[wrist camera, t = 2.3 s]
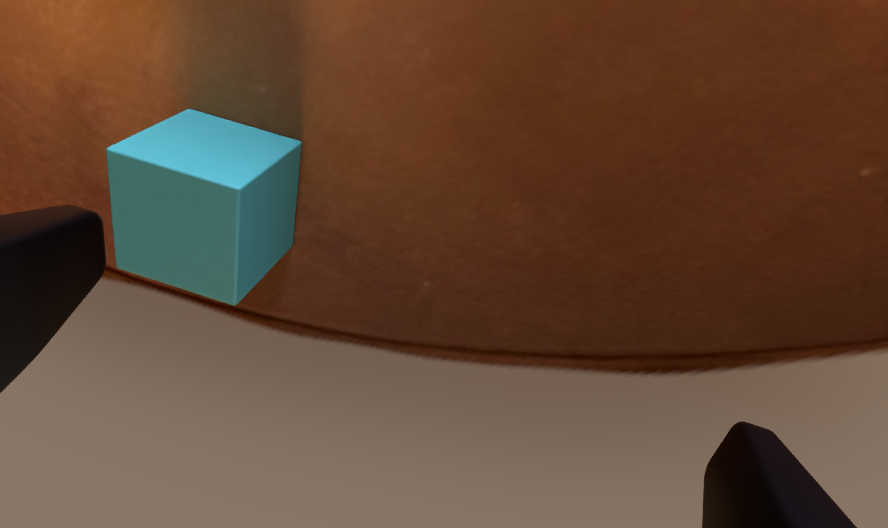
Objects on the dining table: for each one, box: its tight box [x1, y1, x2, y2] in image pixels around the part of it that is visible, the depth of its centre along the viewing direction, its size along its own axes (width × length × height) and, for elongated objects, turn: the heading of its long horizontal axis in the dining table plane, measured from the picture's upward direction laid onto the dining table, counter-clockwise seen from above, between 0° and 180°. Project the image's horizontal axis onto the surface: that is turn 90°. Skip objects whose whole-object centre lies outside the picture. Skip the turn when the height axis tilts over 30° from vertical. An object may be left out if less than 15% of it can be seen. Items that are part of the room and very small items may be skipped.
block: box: [106, 109, 302, 305], centre depth 20 cm, size 4×4×4 cm
